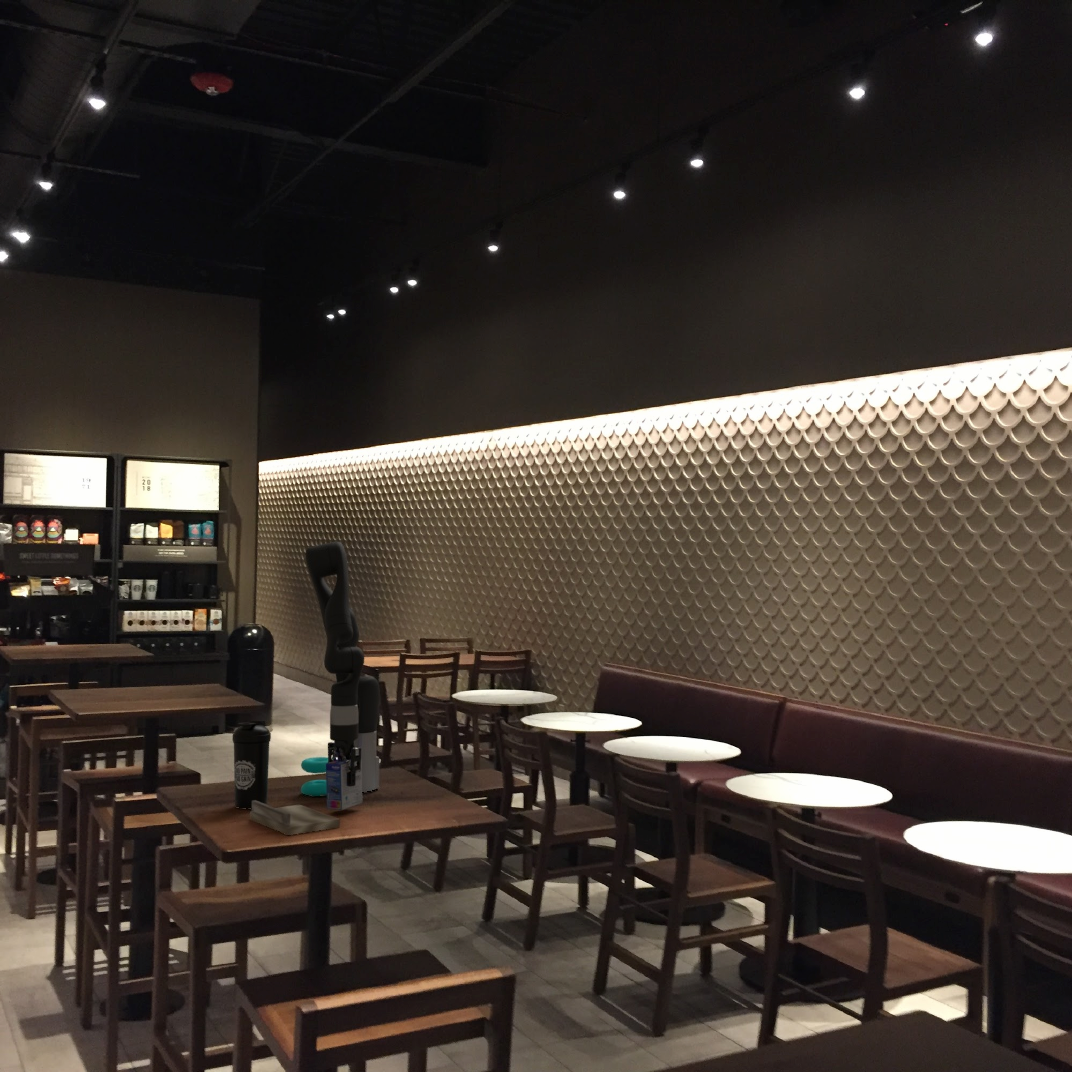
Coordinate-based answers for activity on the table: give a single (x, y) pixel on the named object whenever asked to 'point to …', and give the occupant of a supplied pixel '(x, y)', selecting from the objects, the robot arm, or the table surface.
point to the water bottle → (251, 763)
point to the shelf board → (292, 818)
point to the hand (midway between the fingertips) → (344, 783)
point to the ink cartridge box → (342, 786)
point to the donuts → (314, 767)
